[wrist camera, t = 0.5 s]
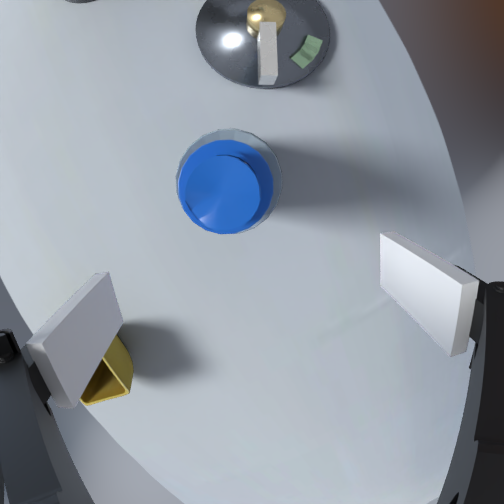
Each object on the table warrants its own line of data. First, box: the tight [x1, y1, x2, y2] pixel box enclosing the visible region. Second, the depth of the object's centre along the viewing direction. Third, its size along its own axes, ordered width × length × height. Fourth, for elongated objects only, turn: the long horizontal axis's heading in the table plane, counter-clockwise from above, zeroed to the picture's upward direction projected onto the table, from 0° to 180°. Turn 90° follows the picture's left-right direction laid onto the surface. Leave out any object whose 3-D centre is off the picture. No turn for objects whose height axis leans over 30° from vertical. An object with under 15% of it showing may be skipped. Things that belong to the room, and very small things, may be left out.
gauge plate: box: [196, 0, 330, 89], centre depth 34 cm, size 17×17×1 cm
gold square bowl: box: [80, 334, 133, 406], centre depth 41 cm, size 9×9×9 cm
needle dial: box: [246, 0, 286, 85], centre depth 32 cm, size 11×4×5 cm, turn 1°
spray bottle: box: [176, 129, 282, 234], centre depth 28 cm, size 9×9×25 cm
